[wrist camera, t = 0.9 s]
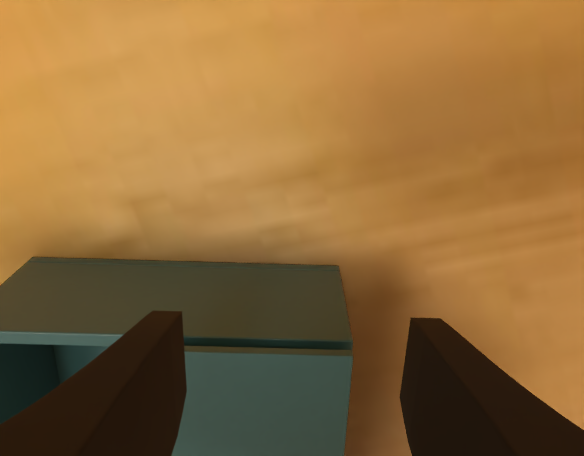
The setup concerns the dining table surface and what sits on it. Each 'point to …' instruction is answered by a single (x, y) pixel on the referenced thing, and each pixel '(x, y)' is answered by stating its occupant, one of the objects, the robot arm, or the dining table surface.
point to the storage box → (195, 345)
